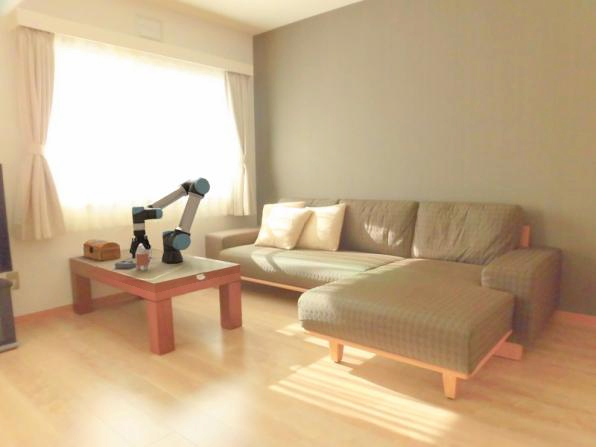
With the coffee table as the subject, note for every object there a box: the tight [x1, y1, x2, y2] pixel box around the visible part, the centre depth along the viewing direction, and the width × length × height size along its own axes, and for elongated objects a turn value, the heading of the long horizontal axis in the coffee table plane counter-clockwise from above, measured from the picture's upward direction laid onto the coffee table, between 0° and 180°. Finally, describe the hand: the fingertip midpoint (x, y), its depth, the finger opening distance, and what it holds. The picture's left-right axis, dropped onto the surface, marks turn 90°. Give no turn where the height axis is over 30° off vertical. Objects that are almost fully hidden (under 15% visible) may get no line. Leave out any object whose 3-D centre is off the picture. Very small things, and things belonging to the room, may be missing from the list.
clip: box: [135, 253, 150, 271], centre depth 276 cm, size 3×8×11 cm, turn 77°
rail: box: [114, 257, 151, 270], centre depth 293 cm, size 24×11×4 cm, turn 167°
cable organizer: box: [129, 242, 153, 258], centre depth 318 cm, size 15×11×12 cm
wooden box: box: [83, 238, 122, 262], centre depth 321 cm, size 30×16×14 cm, turn 49°
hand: (141, 261), depth 276 cm, fingers open, 13 cm apart
